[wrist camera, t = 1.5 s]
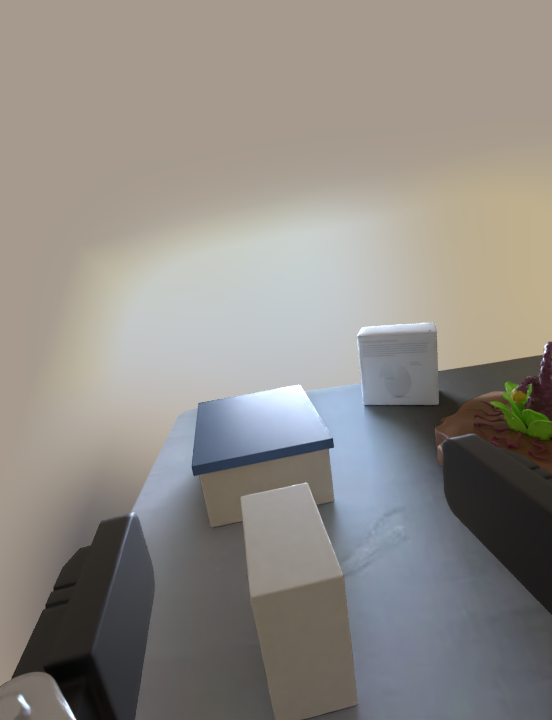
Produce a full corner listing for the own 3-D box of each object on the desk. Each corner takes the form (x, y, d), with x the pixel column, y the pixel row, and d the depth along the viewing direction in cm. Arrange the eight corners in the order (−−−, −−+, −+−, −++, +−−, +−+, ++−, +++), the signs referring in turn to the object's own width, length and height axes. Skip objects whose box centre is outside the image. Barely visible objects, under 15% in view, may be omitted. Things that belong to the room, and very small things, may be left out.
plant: (679, 431, 41) (697, 326, 38) (679, 548, 28) (708, 404, 25) (474, 398, 55) (474, 319, 52) (410, 467, 42) (406, 367, 39)
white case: (276, 727, 21) (250, 598, 19) (260, 600, 29) (240, 496, 26) (358, 705, 22) (344, 575, 19) (321, 586, 29) (307, 482, 27)
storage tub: (206, 532, 37) (191, 466, 35) (209, 452, 51) (198, 402, 49) (340, 503, 38) (333, 438, 36) (306, 433, 52) (299, 384, 50)
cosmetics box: (436, 388, 60) (435, 320, 57) (439, 406, 54) (437, 332, 51) (366, 388, 64) (361, 324, 60) (361, 405, 58) (356, 336, 55)
